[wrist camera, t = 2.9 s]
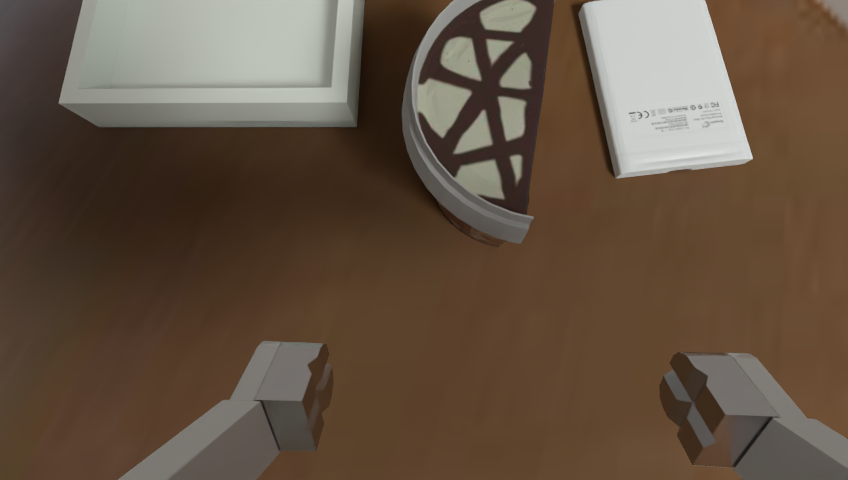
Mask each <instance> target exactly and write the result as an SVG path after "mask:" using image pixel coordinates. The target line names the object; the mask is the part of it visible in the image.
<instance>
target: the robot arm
mask: <svg viewBox="0 0 848 480" xmlns="http://www.w3.org/2000/svg"><path fill="white" fill-rule="evenodd" d="M328 356H329V352H328V348H327V345H326V344H321V343H301V342H276V341H263V342H262V343H261V344H259V345H258V346H257V348H256V350H255V352H254V354H253V356H252V358H251V360H250V362H249V364H248V365H247V367H246V369H245V371H244V373H243V375H242V377H241V379H240V381H239V383H238V385H237V386H236V388H235V390H234V392H233V394H232V396H231V398H230V400H222V401H221V402H220V403H218V404H217V405H216V406H214V407H213V408H212V409H210V410H209V411H208V412H206V413H205V414H204V415H202V416H201V417H200V418H198V419H197V420H196V421H195V422H193V423H192V424H191V425H189V426H188V427H187V428H185V429H184V430H183V431H181V432H180V433H179V434H177V435H176V436H175V437H173V438H172V439H171V440H169V441H168V442H167V443H166V444H164V445H163V446H162V447H160V448H159V449H158V450H156V451H155V452H154V453H152V454H151V455H150V456H148V457H147V458H146V459H144V460H143V461H142V462H140V463H139V464H138V465H137V466H135V467H134V468H133V469H131V470H130V471H129V472H127V473H126V474H125V475H123V476H122V477H121V478H119V479H118V480H256V479H257V478H258V477H259V476H260V475H261V473H262V472H263V471H264V470H265V469H266V468H267V467H268V466H269V464H270V463H271V462H272V461H273V460H274V459H275V458H276V457H277V455H278V454H279V453H280V452H279V451H316V450H317V447H318V443H319V440H320V436H321V433H322V429H323V426H324V421H323V417H322V412H323V411H324V410H325V409H326V408H327V407H329V404H330V400H331V396H332V389H333V371H332V366H330V365H329V364H328V363H327V359H328ZM670 365H671V366H672V368H673V370H672V371H670V372H669V373H667V374H666V375H664V376H663V379H662V381H661V384H660V399H661V403H662V406H663V409H664V411H665V413H666V415H667V417H668V418H669V419H671V420H672V421H673V422H674V423H676V424H677V425H678V426H679V431H678V435H677V436H678V438H679V440H680V442H681V444H682V446H683V448H684V450H685V452H686V453H687V455H688V457H689V459H690V461H691V463H692V465H697V466H712V467H728V468H734V471H735V472H736V473H737V474H738V475H739V476H740V477H741V478H742V479H744V480H848V439H847V438H845V437H843V436H842V435H840V434H838V433H837V432H835V431H834V430H832V429H830V428H829V427H827V426H826V425H824V424H822V423H821V422H819V421H817V420H816V419H807V418H806V416H805V415H804V414H803V413H802V412H801V410H800V409H799V408H798V407H797V406H796V404H795V403H794V402H793V401H792V400H791V398H790V397H789V396H788V395H787V394H786V393H785V391H784V390H783V389H782V388H781V387H780V385H779V384H778V383H777V382H776V381H775V379H774V378H773V377H772V376H771V375H770V373H769V372H768V371H767V370H766V369H765V368H764V366H763V365H762V364H761V363H760V362H759V360H758V359H757V358H756V357H754V356H753V355H751V354H749V353H715V352H678V353H676V354H675V355H673V357H672V359H671V361H670Z"/></svg>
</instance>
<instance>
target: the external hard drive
mask: <svg viewBox="0 0 848 480" xmlns="http://www.w3.org/2000/svg"><path fill="white" fill-rule="evenodd" d="M578 15H579V19H580V23H581V28H582V32H583V37H584V41H585V45H586V50H587V54H588V59H589V63H590V68H591V72H592V77H593V81H594V85H595V90H596V94H597V99H598V103H599V108H600V112H601V117H602V121H603V126H604V130H605V135H606V139H607V144H608V148H609V153H610V157H611V161H612V166H613V170H614V175H615V178H623V177H632V176H641V175H649V174H658V173H667V172H669V171H673V170H681V169H691V170H694V169H703V168H712V167H721V166H730V165H739V164H744V163H746V162H748V161H750V160H752V159H753V158H752V154H751V151H750V148H749V144H748V141H747V138H746V135H745V132H744V128H743V125H742V121H741V118H740V114H739V111H738V108H737V104H736V101H735V98H734V94H733V91H732V88H731V84H730V81H729V78H728V74H727V71H726V68H725V64H724V61H723V58H722V55H721V51H720V48H719V44H718V41H717V37H716V34H715V31H714V28H713V25H712V21H711V18H710V15H709V12H708V8H707V5H706V2H705V0H599V1H593V2H588V3H584V4H583V5H582V7H581V9H580V12H579V14H578Z"/></svg>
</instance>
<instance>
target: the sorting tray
mask: <svg viewBox="0 0 848 480" xmlns="http://www.w3.org/2000/svg"><path fill="white" fill-rule="evenodd" d="M364 5H365V0H83V3H82V7H81V11H80V15H79V19H78V24H77V28H76V32H75V36H74V40H73V44H72V49H71V53H70V57H69V61H68V65H67V70H66V74H65V78H64V82H63V86H62V90H61V95H60V99H59V103H58V104H60V105H62V106H64V107H65V108H67V109H69V110H70V111H72V112H74V113H76V114H77V115H79V116H81V117H82V118H84V119H86V120H88V121H89V122H91V123H93V124H94V125H96V126H98V127H357V119H358V102H359V86H360V70H361V54H362V37H363V21H364Z"/></svg>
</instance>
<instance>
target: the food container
mask: <svg viewBox="0 0 848 480" xmlns="http://www.w3.org/2000/svg"><path fill="white" fill-rule="evenodd" d="M554 3H555V0H454V1H452V2H451V3H450V4H449V5H448V6H447V7H446V8H445V9H444V10H443V11H442V12H441V13H440V14H439V16H438V17H437V18H436V20H435V21H434V23H433V24H432V25H431V27H430V28H429V29H428V31H427V33H426V34H425V36H424V37H423V39H422V41H421V43H420V44H419V46H418V48H417V50H416V52H415V54H414V57H413V60H412V63H411V66H410V70H409V73H408V77H407V81H406V86H405V91H404V97H403V105H402V127H403V135H404V139H405V143H406V148H407V152H408V154H409V156H410V159H411V161H412V164H413V166H414V168H415V170H416V172H417V174H418V175H419V177H420V178H421V180H422V182H423V183H424V185H425V186H426V188H427V189H428V190H429V191H430V192H431V193H432V195H433V196H434V197H435V198H436V200H437V202H438V205H439V207H440V209H441V210H442V212H443V213H444V215H445V216H446V218H447V219H448V220H449V221H450V222H451V223H452V224H453V225H454V226H455V227H456V228H457V229H459V230H460V231H461V232H462V233H464V234H466V235H467V236H469V237H471V238H472V239H474V240H477V241H479V242H482V243H484V244H488V245H492V246H496V247H499V246H500V245H502V244H503V243H504V242H506V241H510V242H514V243H518V244H521V242H522V241H523V239H524V237H525V235H526V234H527V232H528V230H529V224H530V223H531V221H532V220H533V217H532V216H528V215H526V214H527V207H528V203H529V187H530V179H531V172H532V165H533V158H534V151H535V144H536V136H537V129H538V123H539V117H540V110H541V104H542V98H543V91H544V82H545V72H546V63H547V55H548V47H549V40H550V32H551V25H552V17H553V9H554Z"/></svg>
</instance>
